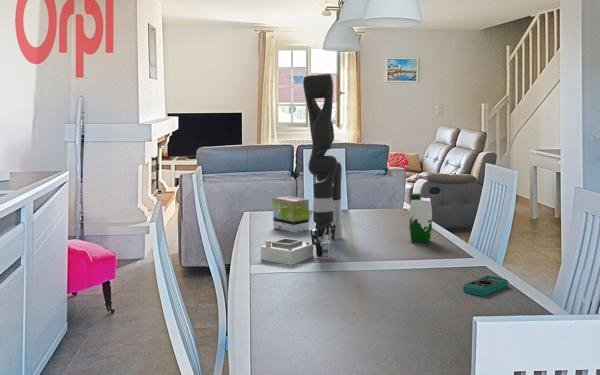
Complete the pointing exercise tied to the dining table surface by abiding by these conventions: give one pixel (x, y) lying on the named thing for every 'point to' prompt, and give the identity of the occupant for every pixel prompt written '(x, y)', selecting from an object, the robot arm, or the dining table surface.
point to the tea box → (291, 213)
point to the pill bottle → (325, 248)
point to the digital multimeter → (485, 285)
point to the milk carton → (420, 219)
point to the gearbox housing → (286, 251)
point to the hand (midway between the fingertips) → (323, 253)
